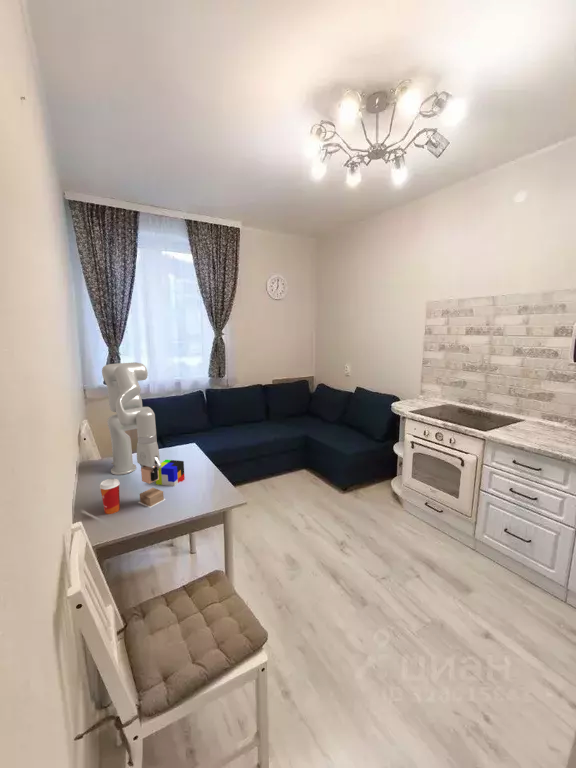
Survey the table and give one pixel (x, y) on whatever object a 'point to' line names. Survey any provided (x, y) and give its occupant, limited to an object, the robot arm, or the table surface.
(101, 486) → the paper cup
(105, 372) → the robot arm
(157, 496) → the base block
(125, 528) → the table surface
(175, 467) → the puzzle toy
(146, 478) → the top block
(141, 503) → the build mat
